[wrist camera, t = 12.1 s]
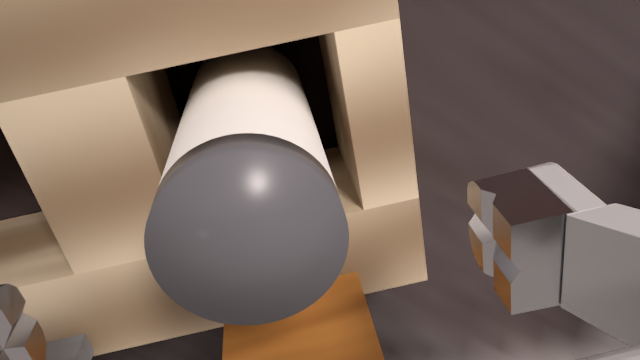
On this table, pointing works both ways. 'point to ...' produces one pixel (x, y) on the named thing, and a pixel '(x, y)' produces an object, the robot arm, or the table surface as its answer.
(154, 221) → the white grey cylinder
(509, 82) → the table surface
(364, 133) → the socket block
